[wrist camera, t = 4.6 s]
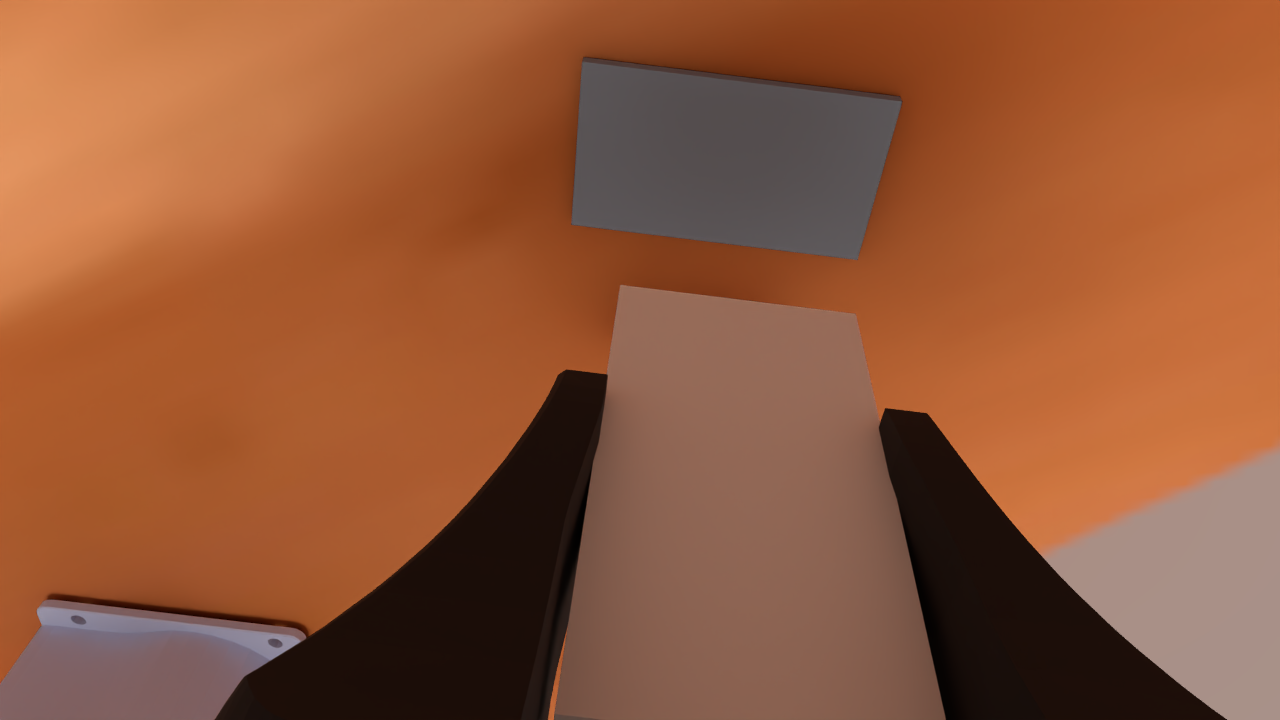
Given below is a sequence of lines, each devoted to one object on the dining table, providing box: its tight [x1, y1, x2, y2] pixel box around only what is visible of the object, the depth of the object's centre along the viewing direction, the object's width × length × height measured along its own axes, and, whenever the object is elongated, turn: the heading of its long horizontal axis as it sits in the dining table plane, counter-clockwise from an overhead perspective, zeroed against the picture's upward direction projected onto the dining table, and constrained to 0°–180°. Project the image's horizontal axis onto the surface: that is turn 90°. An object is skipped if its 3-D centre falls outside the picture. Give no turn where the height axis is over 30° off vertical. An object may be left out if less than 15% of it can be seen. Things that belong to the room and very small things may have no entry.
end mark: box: [571, 57, 902, 260], centre depth 21 cm, size 7×4×1 cm, turn 84°
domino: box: [554, 285, 946, 720], centre depth 13 cm, size 4×1×8 cm, turn 84°
